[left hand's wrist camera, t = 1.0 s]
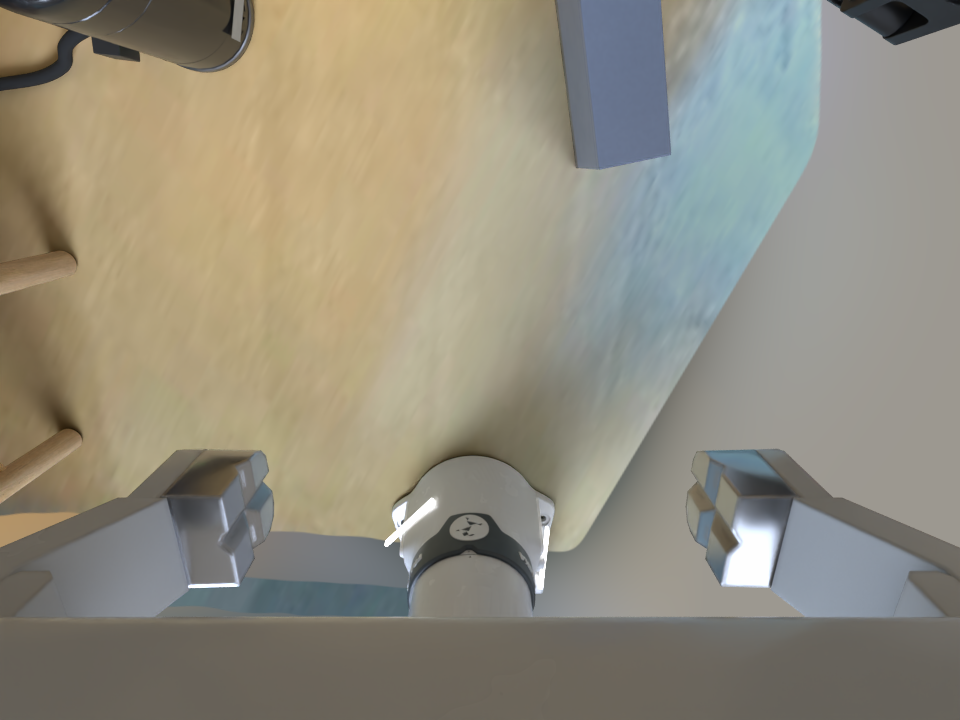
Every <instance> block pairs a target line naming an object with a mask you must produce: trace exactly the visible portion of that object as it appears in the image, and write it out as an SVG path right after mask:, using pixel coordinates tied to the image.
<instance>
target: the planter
mask: <svg viewBox="0 0 960 720" xmlns="http://www.w3.org/2000/svg"><path fill="white" fill-rule="evenodd" d="M76 269H77V264H76V261H75V259H74V258H73V257H72V256H71V255H70V254H69V253H67V252H65V251H55V252H50V253H45V254H41V255H36V256H31V257H27V258H22V259H18V260H13V261H8V262H4V263H0V295H3V294H7V293H10V292H14V291H17V290H21V289H24V288H28V287H31V286H35V285H39V284H42V283H46V282H49V281H53V280H56V279H60V278H63V277H67V276H70V275H73V274H74V273H75V271H76ZM81 444H82V438H81V436H80V435H79V433H77V432H76V431H74V430H72V429H64V430H62V431H60V432H58V433H57V434H55V435H54V436H52V437H51V438H49V439H48V440H46V441H45V442H43V443H41V444H40V445H38V446H37V447H35V448H34V449H32V450H31V451H29V452H28V453H26V454H24V455H23V456H21V457H20V458H18V459H17V460H15V461H14V462H12V463H10V464H9V465H7V466H6V467H4V466H3V465H2V464H1V463H0V503H2V502H3V501H4V500H6V499H7V498H9V497H10V496H11V495H13V494H14V493H16V492H17V491H18V490H20V489H21V488H22V487H24V486H25V485H27V484H28V483H29V482H31V481H32V480H34V479H35V478H36V477H38V476H39V475H41V474H42V473H43V472H45V471H46V470H48V469H49V468H50V467H52V466H53V465H55V464H56V463H57V462H59V461H60V460H62V459H63V458H64V457H66V456H67V455H69V454H70V453H71V452H73V451H74V450H76V449H77V448H78V447H80V446H81Z"/></svg>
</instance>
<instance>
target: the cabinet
mask: <svg viewBox="0 0 960 720" xmlns="http://www.w3.org/2000/svg"><path fill="white" fill-rule="evenodd" d="M555 4H556V12H557V20H558V28H559V36H560V44H561V52H562V60H563V68H564V76H565V83H566V91H567V99H568V107H569V115H570V123H571V131H572V139H573V147H574V155H575V163H576V168H586V169H605V168H609V167H614V166H619V165H624V164H629V163H634V162H638V161H643V160H648V159H653V158H658V157H663V156H668V155H671V146H670V132H669V117H668V102H667V87H666V72H665V57H664V42H663V27H662V12H661V0H555Z"/></svg>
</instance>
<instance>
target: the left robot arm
mask: <svg viewBox="0 0 960 720" xmlns="http://www.w3.org/2000/svg"><path fill="white" fill-rule="evenodd" d="M268 472H269V469H268V464H267V459H266V455H265V454H264V453H263V452H262V451H261V450H214V449H210V450H207V449H183V450H177V451H175V452H174V453H173V454H172V455H171V456H170V457H169V458H168V459H167V460H166V461H165V462H164V463H163V464H162V465H161V466H160V467H159V468H158V469H157V470H155V471H154V472H153V473H152V474H151V475H150V476H149V477H148V478H147V479H146V480H145V481H144V482H143V483H142V484H141V485H140V486H139V487H138V488H136V489H135V490H134V491H133V492H132V493H131V494H130V495H129V496H128V497H127V498H116V499H114V500H111V501H109V502H107V503H104V504H102V505H100V506H97V507H95V508H92V509H90V510H88V511H85V512H83V513H81V514H78V515H76V516H74V517H71V518H69V519H67V520H64V521H62V522H59V523H57V524H55V525H52V526H50V527H48V528H45V529H43V530H41V531H38V532H36V533H34V534H31V535H29V536H27V537H24V538H22V539H19V540H17V541H15V542H13V543H10V544H8V545H5V546H3V547H1V548H0V720H960V548H959V547H957V546H954V545H952V544H950V543H947V542H945V541H943V540H940V539H938V538H936V537H933V536H931V535H929V534H926V533H924V532H922V531H919V530H917V529H914V528H912V527H910V526H907V525H905V524H903V523H900V522H898V521H896V520H893V519H891V518H889V517H886V516H884V515H881V514H879V513H877V512H874V511H872V510H870V509H867V508H865V507H863V506H860V505H858V504H856V503H853V502H851V501H849V500H846V499H844V498H833V497H832V496H831V495H830V494H829V493H828V492H827V491H826V490H825V489H824V488H822V487H821V486H820V485H819V484H818V483H817V482H816V481H815V480H814V479H813V478H812V477H811V476H810V475H809V474H808V473H807V472H806V471H805V470H804V469H803V468H802V467H800V466H799V465H798V464H797V463H796V462H795V461H794V460H793V459H792V458H791V457H790V456H789V455H788V454H787V453H786V452H785V451H782V450H779V449H760V450H718V451H697V452H696V454H695V456H694V459H693V463H692V468H691V472H692V473H693V475H694V476H695V478H696V479H697V482H696V483H695V484H694V485H693V486H692V487H691V488H690V489H689V491H688V493H687V501H686V514H687V522H688V526H689V529H690V532H691V534H692V536H693V538H694V539H695V541H696V542H697V543H699V544H700V545H702V546H704V547H705V548H707V552H706V558H705V559H706V561H707V562H708V564H709V566H710V568H711V570H712V571H713V573H714V575H715V576H716V578H717V580H718V582H719V583H720V585H721V586H732V587H769V588H771V590H772V591H773V592H774V593H776V594H777V595H778V596H779V597H781V598H782V599H783V600H785V601H786V602H787V603H789V604H790V605H791V606H793V607H794V608H795V609H796V610H798V611H799V612H800V613H802V614H803V615H804V616H806V617H533V609H534V605H535V593H539V594H540V593H542V592H543V588H544V572H545V564H546V556H547V547H548V539H549V532H550V528H551V524H552V520H553V517H554V512H555V508H554V503H553V501H552V500H551V499H550V498H548V497H547V496H545V495H543V494H541V493H539V492H537V491H535V490H534V489H533V488H532V487H531V486H530V485H529V484H528V482H527V481H526V480H525V479H524V477H523V476H522V475H521V474H520V473H519V472H518V471H516V470H515V469H514V468H512V467H511V466H509V465H507V464H506V463H504V462H501V461H499V460H496V459H493V458H489V457H483V456H463V457H457V458H453V459H450V460H447V461H445V462H442V463H440V464H438V465H437V466H435V467H434V468H432V469H431V470H430V471H428V472H427V473H426V474H425V475H424V476H423V477H422V479H421V480H420V481H419V483H418V484H417V486H416V487H415V489H414V490H413V491H412V492H411V493H410V494H409V495H407V496H406V497H404V498H402V499H401V500H399V501H398V502H397V503H396V504H395V505H394V506H393V508H392V518H393V521H394V524H395V527H396V530H397V531H396V532H395V533H394V534H392V535H391V536H390V537H389V538H388V539H387V540H386V542H385V546H388V545H389V544H390V543H391V542H393V541H394V540H395V539H396V538H397V537H398V536H399V538H400V541H401V545H400V556H401V557H402V558H404V562H405V565H406V568H407V570H408V572H409V577H408V584H407V591H408V595H407V602H408V607H409V615H408V617H155V616H156V615H157V614H158V613H160V612H161V611H162V610H164V609H165V608H166V607H168V606H169V605H170V604H172V603H173V602H174V601H176V600H177V599H178V598H179V597H181V596H182V595H183V594H185V593H186V592H187V591H189V588H192V587H228V586H239V585H240V584H241V582H242V580H243V578H244V577H245V575H246V573H247V571H248V569H249V568H250V566H251V564H252V562H253V561H254V559H255V558H254V552H253V548H255V547H257V546H258V545H260V544H261V543H263V542H264V541H265V539H266V537H267V536H268V534H269V532H270V529H271V525H272V521H273V517H274V499H273V493H272V491H271V489H270V488H269V487H268V486H267V485H266V484H265V483H264V482H263V479H264V478H265V476H266V475H267V473H268ZM541 516H545V517H544V518H541ZM403 520H404V521H403Z"/></svg>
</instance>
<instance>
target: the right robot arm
mask: <svg viewBox="0 0 960 720" xmlns="http://www.w3.org/2000/svg"><path fill="white" fill-rule="evenodd" d="M827 1H829V2H830V3H832V4H833V5H835V6H836V7H838V8H840V11H841V12H843V13H844V14H846V15H848V16H849V17H851V18H855V19H857V20H859V21H860V22H862V23H863V24H865V25H867V26H868V27H870V28H871V29H873V30H874V31H876V32H877V33H879V34H881V35H882V36H883V38H884V39H885V40H887V41H888V42H890V43H892V44H893V45H898V44H901V43H904V42H907V41H910V40H913V39H916V38H919V37H922V36H925V35H928V34H930V33H933V32H936V31H939V30H942V29H945V28H948V27H951V26H954V25H957V24H960V0H827ZM0 7H1V8H4V9H6V10H9V11H11V12H14V13H17V14H20V15H23V16H26V17H30V18H33V19H36V20H39V21H42V22H46V23H49V24H52V25H55V26H58V27H61V28H65V29H68V31H67V32H66V33H65V34H64V35H63V36H62V38H61V39H60V41H59V43H58V60H57V61H56V62H54V63H53V64H52V65H50V66H48V67H46V68H44V69H42V70H39V71H36V72H32V73H27V74H22V75H16V76H8V77H1V78H0V91H3V90H10V89H17V88H24V87H30V86H36V85H40V84H44V83H47V82H50V81H53V80H55V79H57V78H59V77H61V76H62V75H64V74H65V73H66V72H68V71H69V69H70V68H71V66H72V63H73V57H72V51H73V48H74V47H75V46H76V45H77V44H78V43H80V42H81V41H83V40H84V39H86V38H88V37H90V36H91V37H92V44H93V52H94V53H96V54H99V55H103V56H106V57H110V58H114V59H119V60H128V61H137V62H140V55H139V52H141V53H144V54H147V55H151V56H154V57H157V58H160V59H163V60H166V61H169V62H172V63H175V64H177V65H179V66H182V67H184V68H187V69H190V70H194V71H198V72H216V71H220V70H223V69H226V68H228V67H230V66H231V65H233V64H234V63H235V62H237V61H238V60H239V59H240V58H241V56H242V55H243V54H244V52H245V51H246V49H247V47H248V45H249V43H250V40H251V37H252V33H253V27H254V10H253V4H252V0H0Z"/></svg>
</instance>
